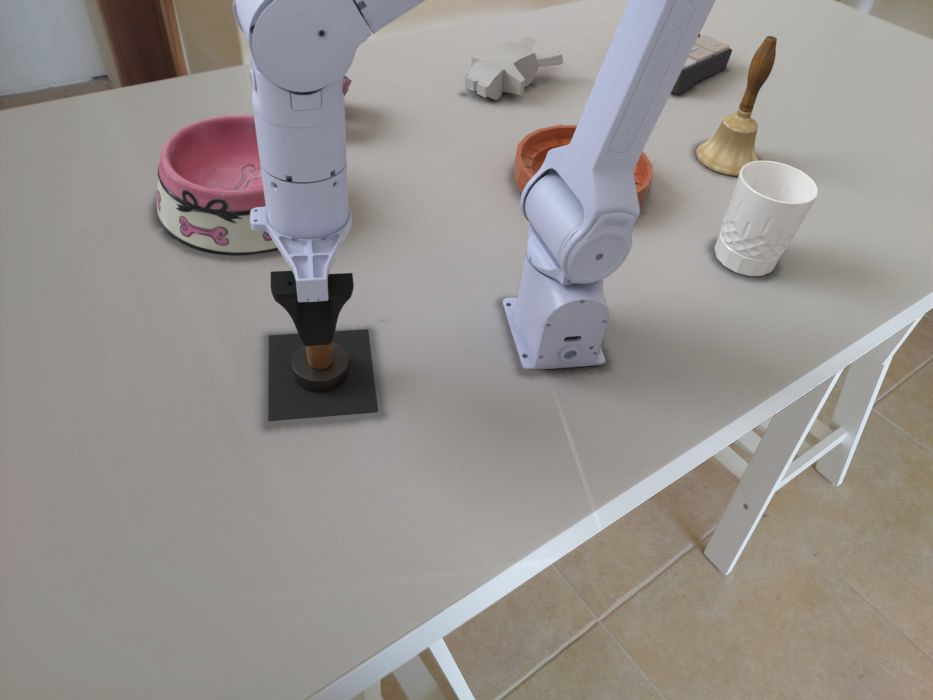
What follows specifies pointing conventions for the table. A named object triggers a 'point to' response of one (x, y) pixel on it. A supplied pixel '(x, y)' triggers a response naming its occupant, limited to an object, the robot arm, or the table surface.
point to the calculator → (702, 62)
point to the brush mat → (301, 403)
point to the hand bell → (740, 121)
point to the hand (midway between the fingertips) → (315, 308)
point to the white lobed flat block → (508, 68)
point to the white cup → (763, 216)
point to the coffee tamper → (320, 367)
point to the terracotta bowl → (548, 138)
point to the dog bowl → (213, 187)
